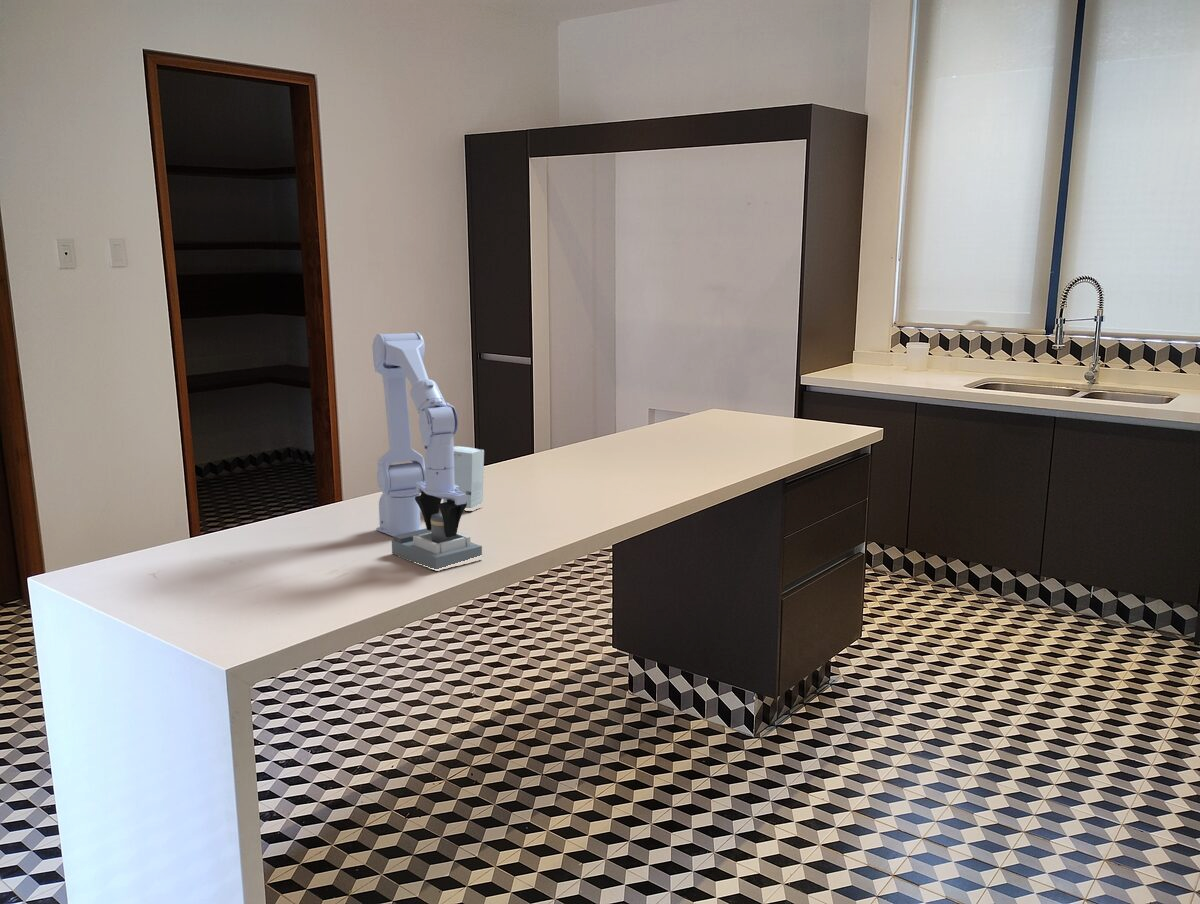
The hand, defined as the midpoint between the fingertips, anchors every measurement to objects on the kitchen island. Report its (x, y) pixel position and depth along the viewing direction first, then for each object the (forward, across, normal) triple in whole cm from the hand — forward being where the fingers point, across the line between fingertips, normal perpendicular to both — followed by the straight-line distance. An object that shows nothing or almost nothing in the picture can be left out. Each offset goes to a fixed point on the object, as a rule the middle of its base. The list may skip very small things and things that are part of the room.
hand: (441, 532), depth 195 cm
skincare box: (+6, +30, -27) cm, 41 cm away
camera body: (+6, +2, 0) cm, 6 cm away
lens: (+3, 0, 0) cm, 3 cm away
